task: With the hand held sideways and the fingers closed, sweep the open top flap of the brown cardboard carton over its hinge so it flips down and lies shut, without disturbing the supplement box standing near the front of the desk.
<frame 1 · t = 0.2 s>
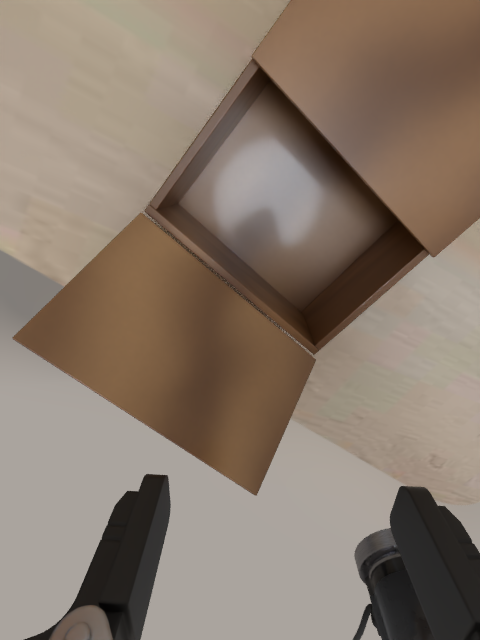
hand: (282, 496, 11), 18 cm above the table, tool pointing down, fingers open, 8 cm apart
carton: (322, 172, 23), on the table
flap: (196, 351, 17), point 10 cm above the table, hinge at 132.3°
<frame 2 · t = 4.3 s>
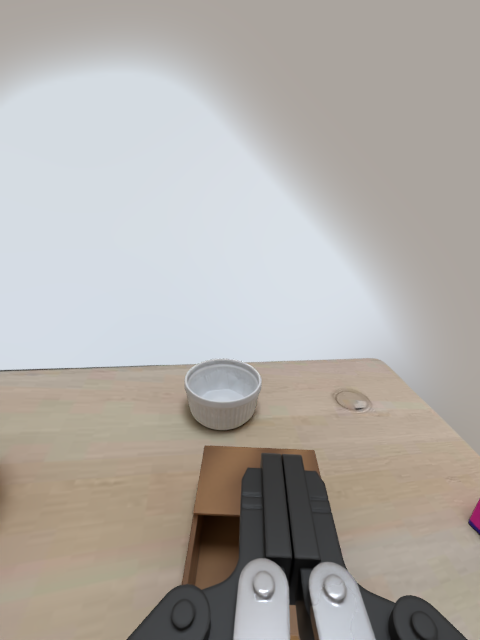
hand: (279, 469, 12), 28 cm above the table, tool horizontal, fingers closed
ramekin: (223, 410, 57), on the table
carton: (258, 559, 35), on the table
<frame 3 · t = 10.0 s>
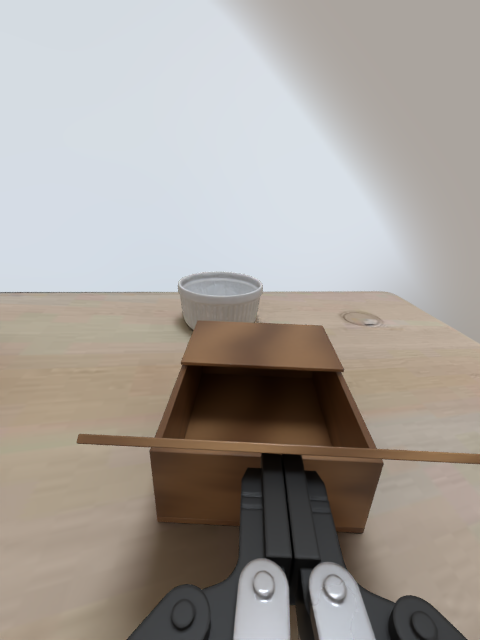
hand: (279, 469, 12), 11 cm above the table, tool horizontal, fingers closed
ramekin: (220, 323, 52), on the table
carton: (257, 431, 30), on the table
flap: (274, 449, 14), point 10 cm above the table, hinge at 133.4°, touching gripper
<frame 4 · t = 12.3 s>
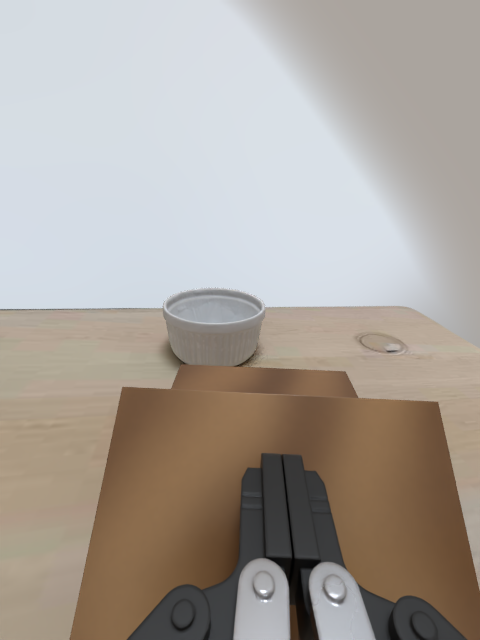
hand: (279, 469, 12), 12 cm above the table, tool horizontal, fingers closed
ramekin: (214, 351, 44), on the table
carton: (260, 530, 21), on the table
flap: (278, 510, 12), point 10 cm above the table, hinge at 40.7°
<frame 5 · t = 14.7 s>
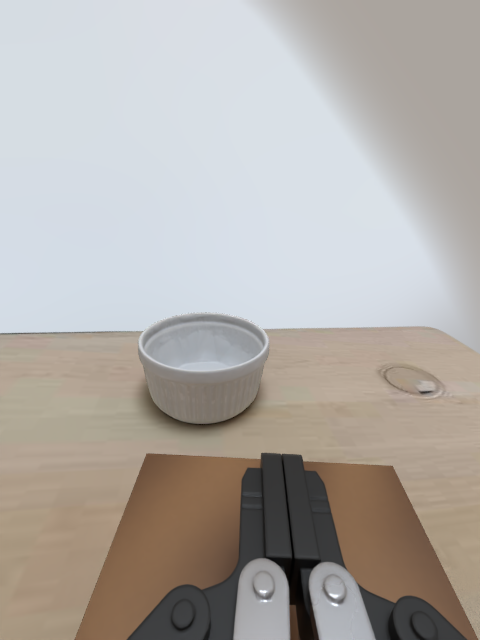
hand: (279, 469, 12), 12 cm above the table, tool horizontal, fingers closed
ramekin: (205, 393, 35), on the table
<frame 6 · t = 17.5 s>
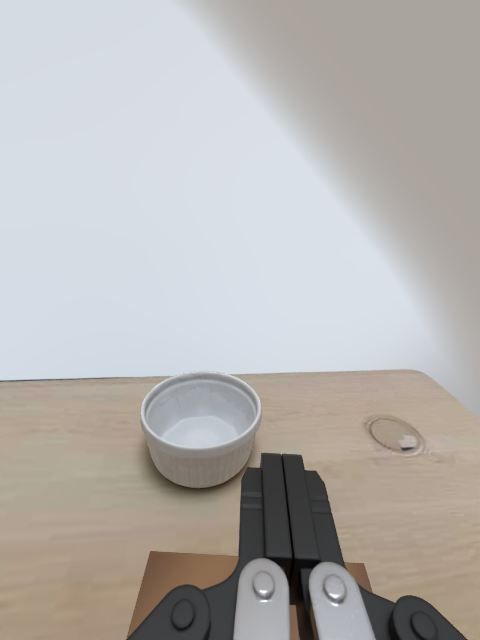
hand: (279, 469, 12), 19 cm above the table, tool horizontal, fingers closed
ramekin: (202, 451, 38), on the table
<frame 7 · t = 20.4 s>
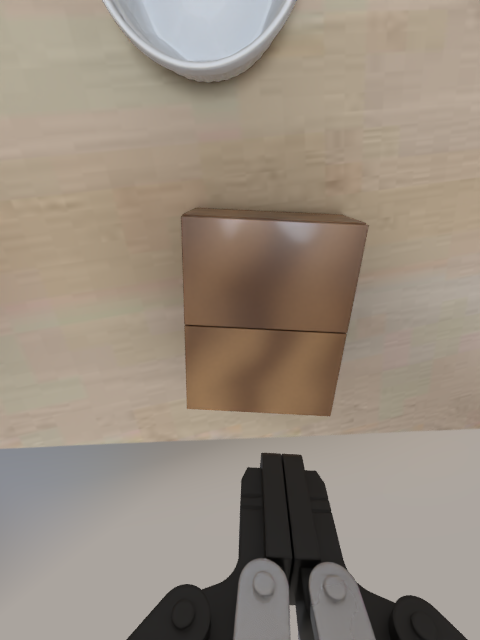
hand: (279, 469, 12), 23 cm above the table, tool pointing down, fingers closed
carton: (262, 300, 33), on the table
flap: (261, 372, 29), point 7 cm above the table, hinge at -0.3°
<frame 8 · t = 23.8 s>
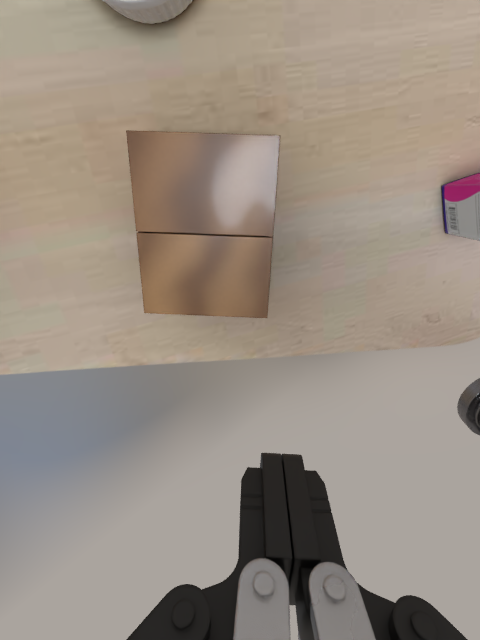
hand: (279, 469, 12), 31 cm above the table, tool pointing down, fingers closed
supplement box: (467, 201, 37), on the table
carton: (212, 225, 38), on the table
flap: (205, 277, 34), point 7 cm above the table, hinge at -0.3°
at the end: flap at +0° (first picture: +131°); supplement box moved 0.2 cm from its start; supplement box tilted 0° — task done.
